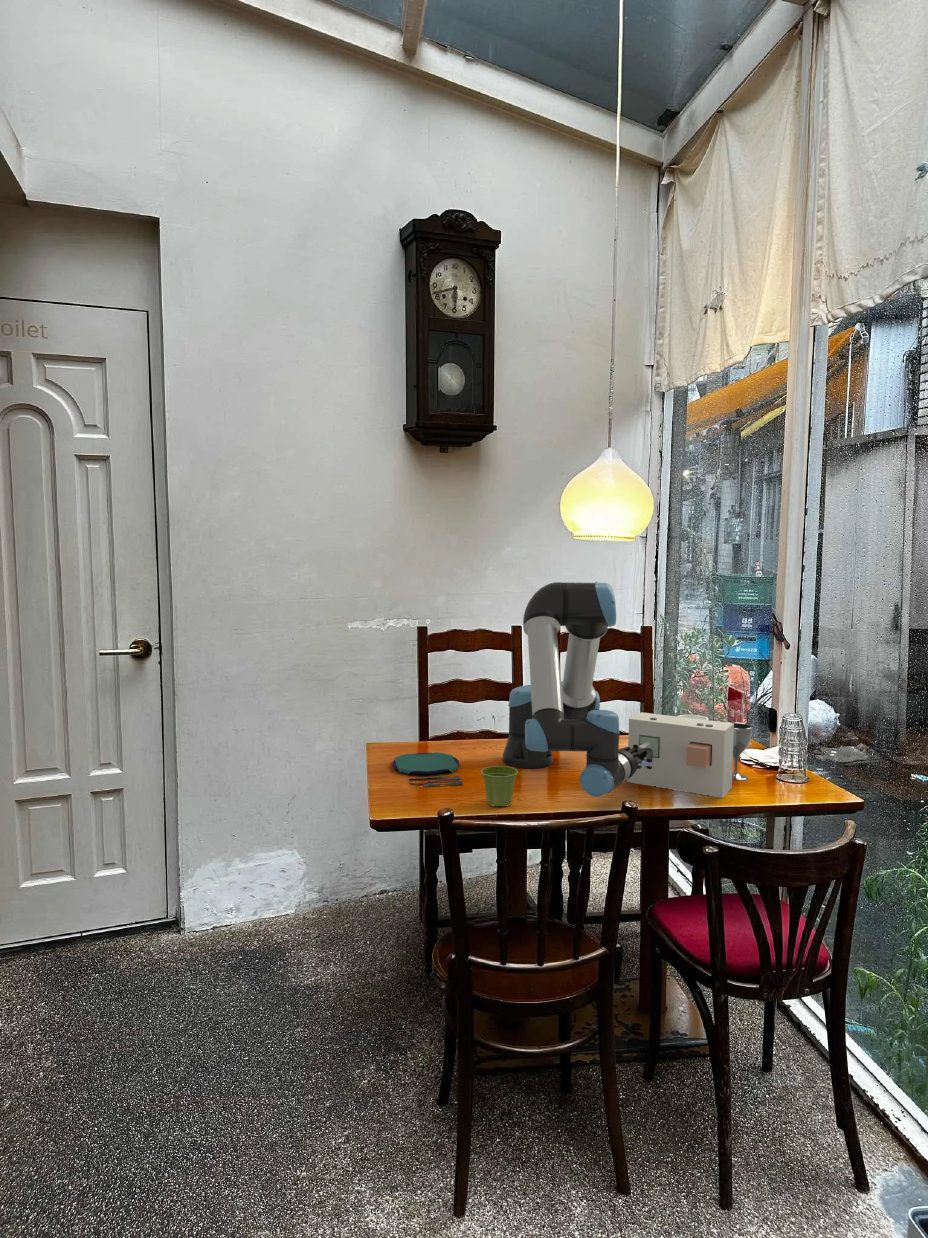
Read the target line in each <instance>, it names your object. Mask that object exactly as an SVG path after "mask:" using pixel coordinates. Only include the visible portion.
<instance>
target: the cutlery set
mask: <svg viewBox="0 0 928 1238" xmlns="http://www.w3.org/2000/svg"><path fill="white" fill-rule="evenodd" d="M459 762H460V761H459V760H458V758H456V757H455V756H453V754H450V753H449V754H448V753H443V752H437V751H436V752H417V753H404V754H402V755H399V756H396V757H394V760H392V766H393V767H394V768H395V769H397V771H398V772H399V773H401V772H403V773H402V774H405V773H406V774H405V775H409V774H417V775H428V774H429V775H431V774H440V773H443V772H449V771H450V772H451V773H452V772H454V771H455V772H456V771H457V770H458V768H459V765H460V763H459ZM455 772H454V773H455ZM413 778H414V777H412V779H413ZM416 778H417V779H423V780H426V781H428V782H432V783H428V782H426V783H427V784H423V783H424V782H415V783H413V784H412V785H415V784H423V785H421V786H423V787H429V786H432V787H440V786H439V785H453V786H460V785H459V784H463V785H464V781H462V778H461V777H460V775H453V776H450V775H449V776H448V775H446V776H442V775H437V776H436V775H433V776H426V777H416ZM424 778H437V779H436V780H435V779H434V780H430V779H424ZM438 778H441V779H438ZM459 780H461V781H459ZM408 781H409V783H410V782H413V781H418V780H410V778H408ZM450 781H451V782H450ZM452 781H453V782H452ZM439 782H446V783H439ZM429 788H430V787H429Z"/></svg>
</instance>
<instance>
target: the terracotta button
mask: <svg viewBox="0 0 928 1238" xmlns="http://www.w3.org/2000/svg"><path fill="white" fill-rule="evenodd" d="M711 763H712V744H704V743H697V742H693V743H691V744H690V745H689V746H687V765H689V766H695V767H702V768H707V767H708V766H709V765H710V764H711Z"/></svg>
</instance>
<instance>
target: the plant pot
mask: <svg viewBox="0 0 928 1238" xmlns="http://www.w3.org/2000/svg"><path fill="white" fill-rule="evenodd" d="M518 773H519V770H518V769H516V767H513V766H508V765H492V766H491V765H490V766H487V767H486V766H485V767H483V768H481V770H480V774H482V778H483V781H484V788H485V794H486V801H487V802H486V803H487V805H488V804H491V805H494V806H496V807H499V806H507V805H509V804H511V805H512V802H513V801H512V800H513V793H514V786H515V780H516V778H517V777H516V776H517V775H518ZM509 806H510V805H509ZM507 807H508V806H507Z"/></svg>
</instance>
